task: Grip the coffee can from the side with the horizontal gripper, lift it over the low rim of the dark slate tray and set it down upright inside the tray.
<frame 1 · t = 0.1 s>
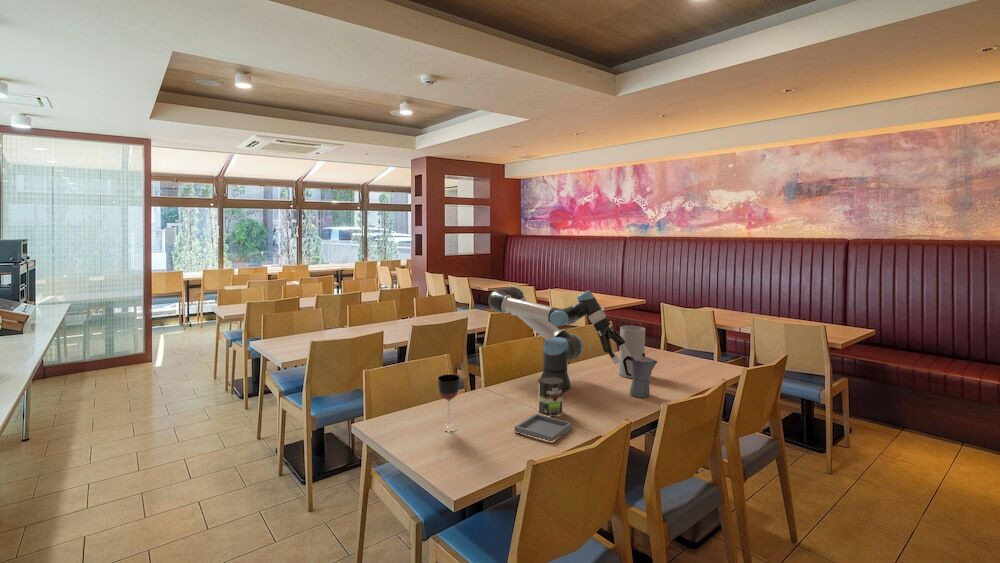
hand: (623, 360, 237), 15 cm above the table, tool tilted 35°, fingers open, 13 cm apart
cylinder vase: (630, 375, 265), on the table
slate tray: (543, 430, 193), on the table
moka pot: (638, 395, 234), on the table
coffee can: (550, 413, 212), on the table
wineglass: (448, 428, 195), on the table
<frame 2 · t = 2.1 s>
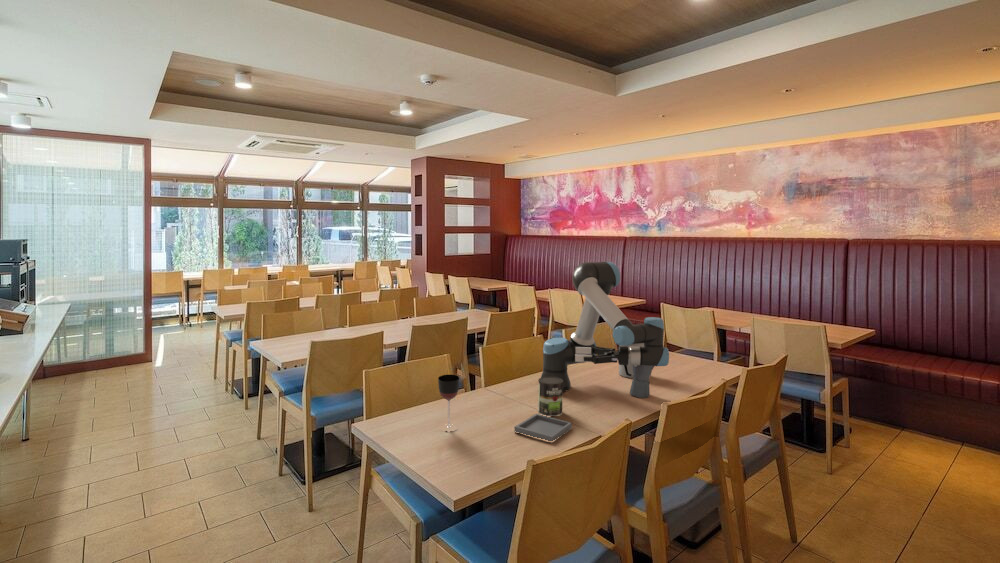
hand: (575, 353, 208), 26 cm above the table, tool horizontal, fingers open, 13 cm apart
nothing on the table moved.
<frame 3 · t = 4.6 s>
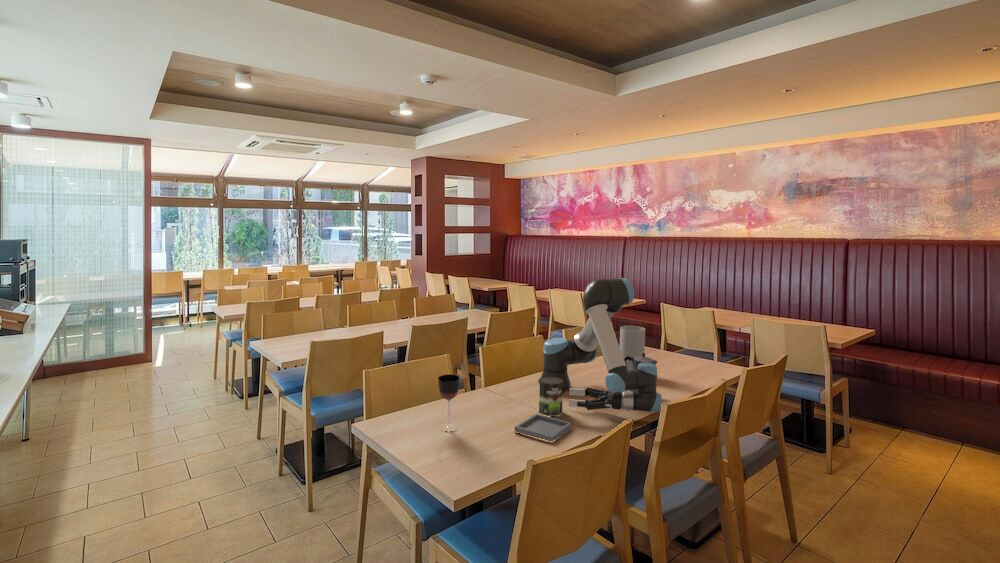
hand: (568, 397, 209), 7 cm above the table, tool horizontal, fingers open, 13 cm apart
nothing on the table moved.
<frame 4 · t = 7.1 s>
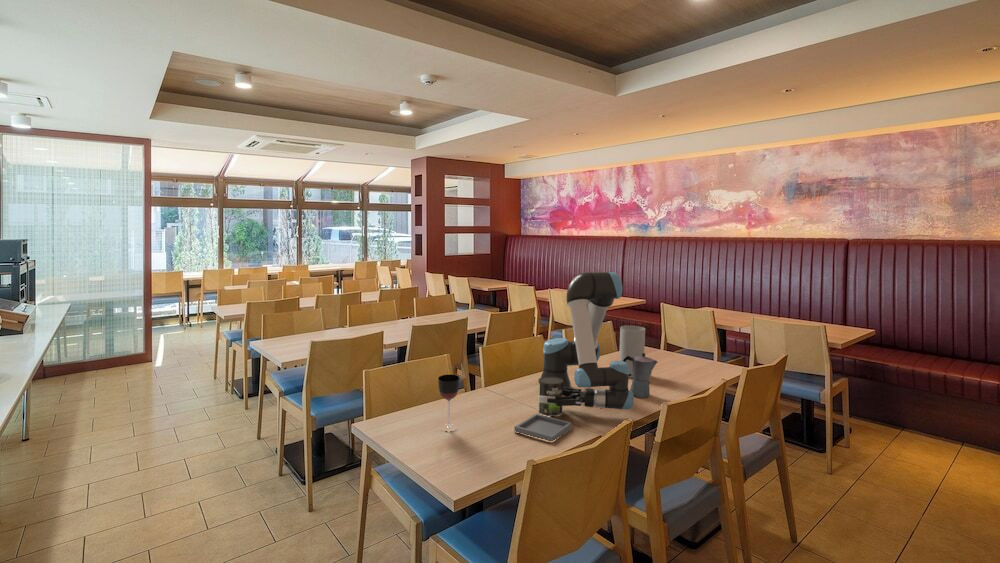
hand: (540, 394, 212), 7 cm above the table, tool horizontal, fingers closed on coffee can, 10 cm apart
coffee can: (550, 413, 212), on the table, touching gripper
everything else where it was.
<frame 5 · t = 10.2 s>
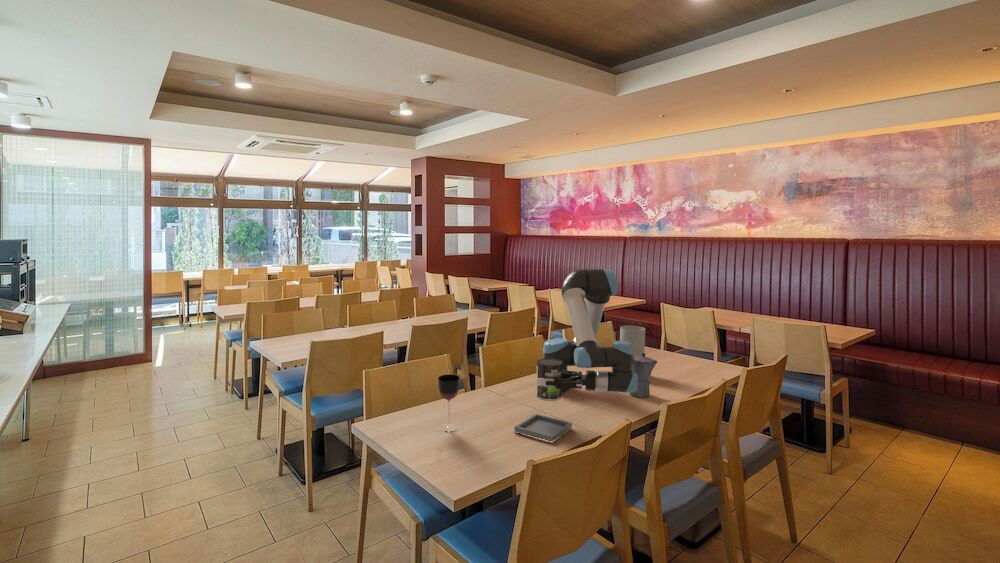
hand: (538, 377, 198), 19 cm above the table, tool horizontal, fingers closed on coffee can, 10 cm apart
coffee can: (548, 397, 199), point 11 cm above the table, touching gripper
everything else where it was.
when the fingers open (10 cm above the table, at t = 13.3 s): coffee can drops 1 cm, resting on slate tray.
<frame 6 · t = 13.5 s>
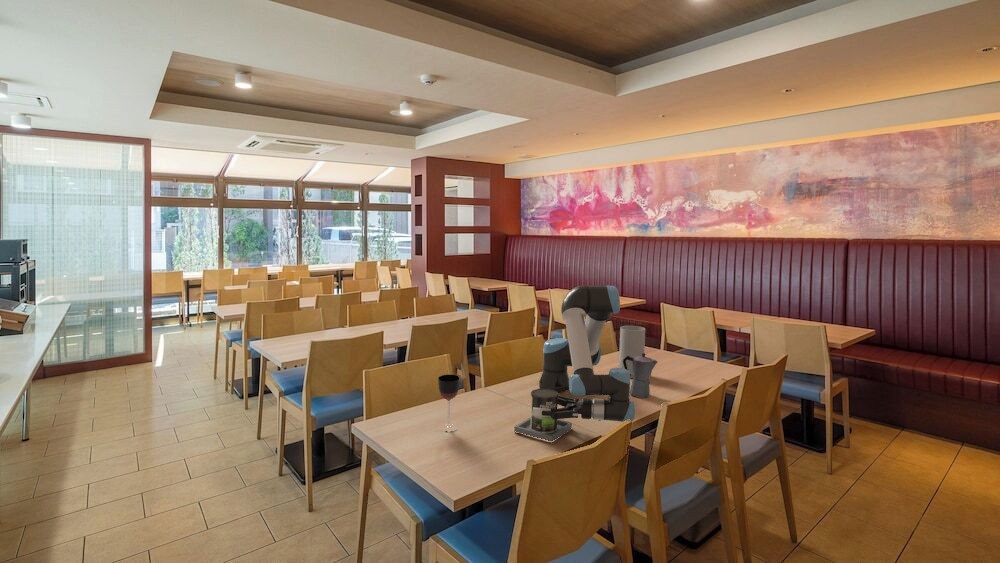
hand: (534, 405, 193), 10 cm above the table, tool horizontal, fingers open, 12 cm apart
coffee can: (543, 428, 193), point 1 cm above the table, touching slate tray
everything else where it was.
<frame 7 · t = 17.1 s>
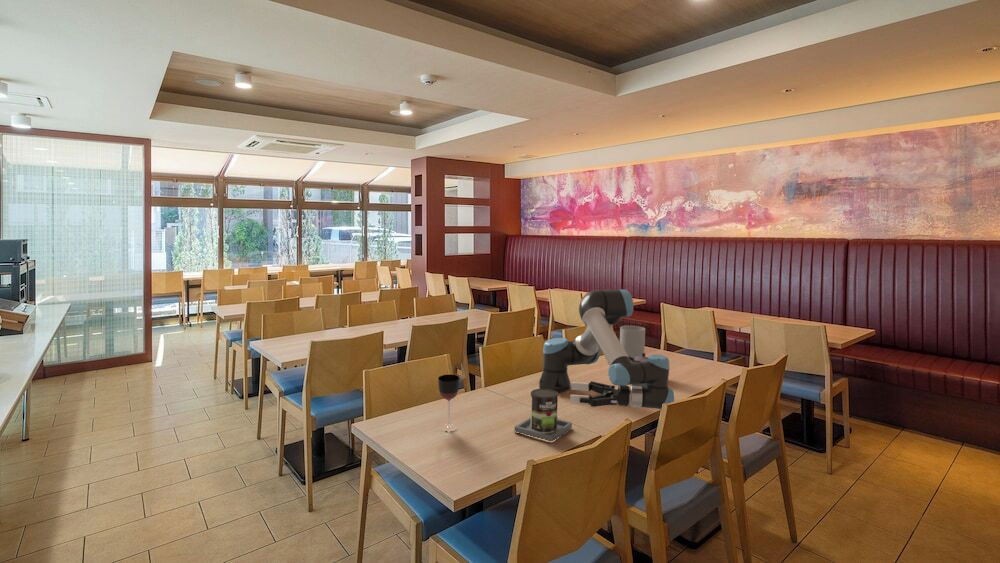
hand: (570, 391, 189), 16 cm above the table, tool horizontal, fingers open, 13 cm apart
nothing on the table moved.
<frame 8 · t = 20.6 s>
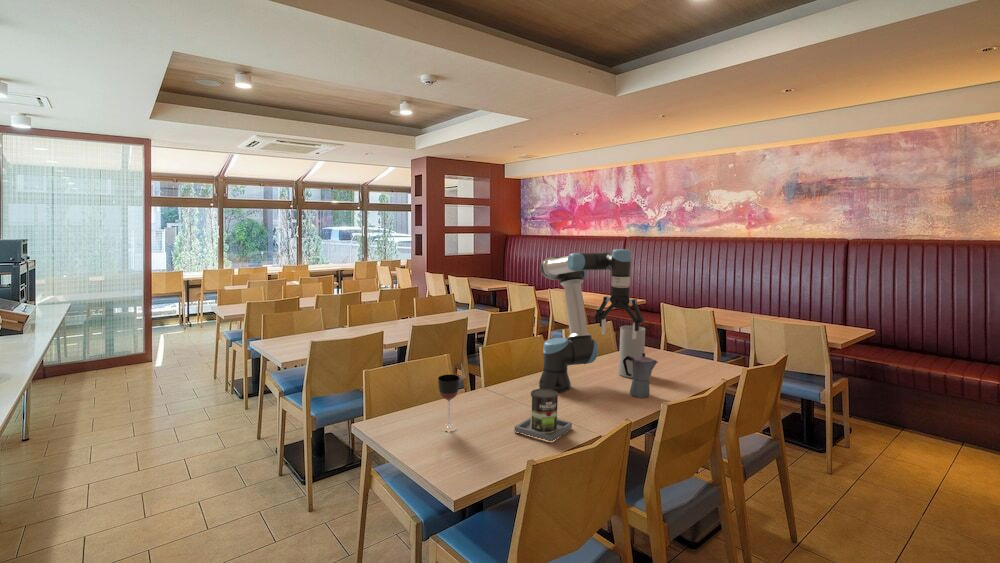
hand: (618, 336, 213), 32 cm above the table, tool pointing down, fingers open, 13 cm apart
nothing on the table moved.
at the end: coffee can inside the target area on the slate tray (0.1 cm from its centre), point 0.8 cm above the slate tray's base; coffee can tilted 0°; the gripper is holding nothing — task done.
